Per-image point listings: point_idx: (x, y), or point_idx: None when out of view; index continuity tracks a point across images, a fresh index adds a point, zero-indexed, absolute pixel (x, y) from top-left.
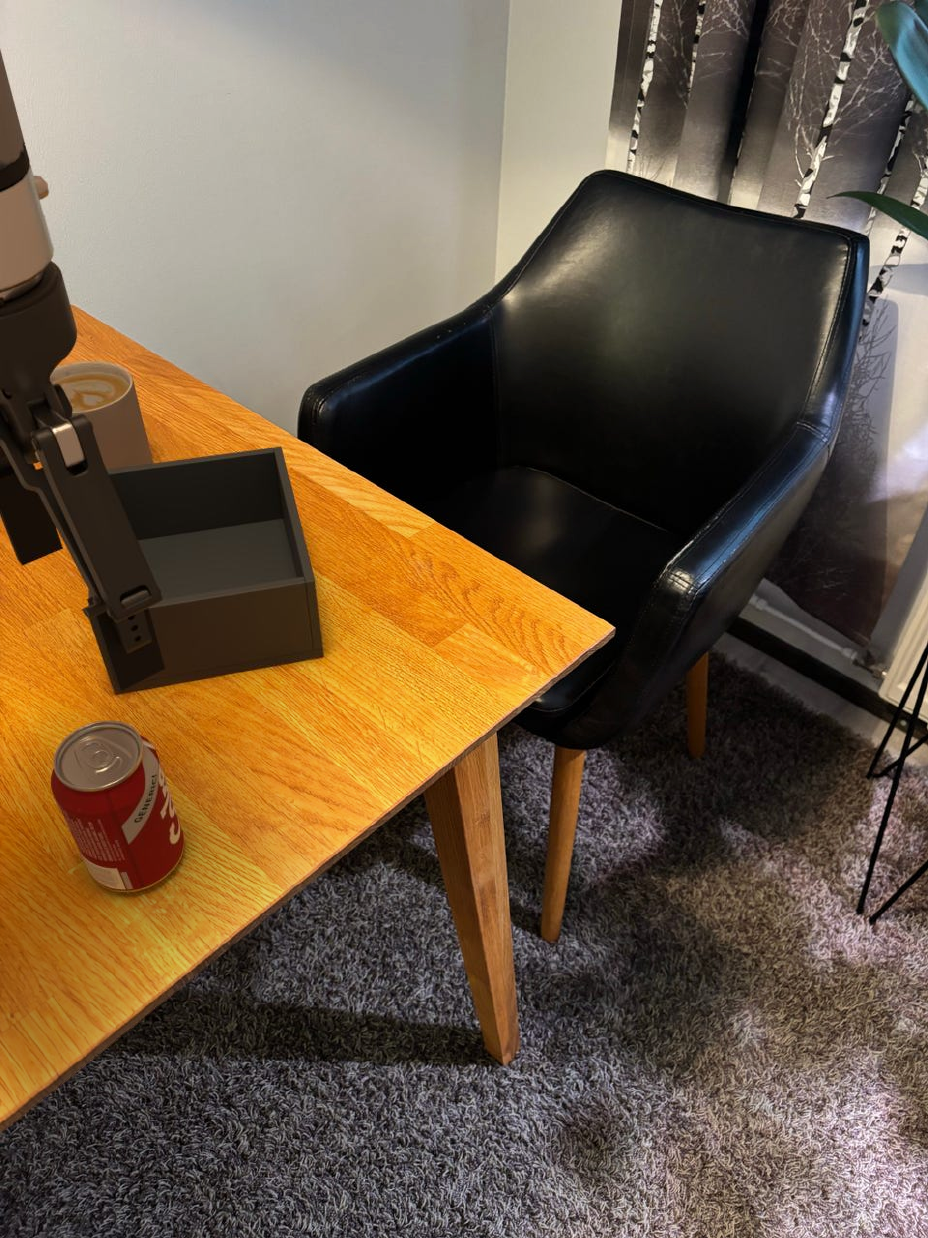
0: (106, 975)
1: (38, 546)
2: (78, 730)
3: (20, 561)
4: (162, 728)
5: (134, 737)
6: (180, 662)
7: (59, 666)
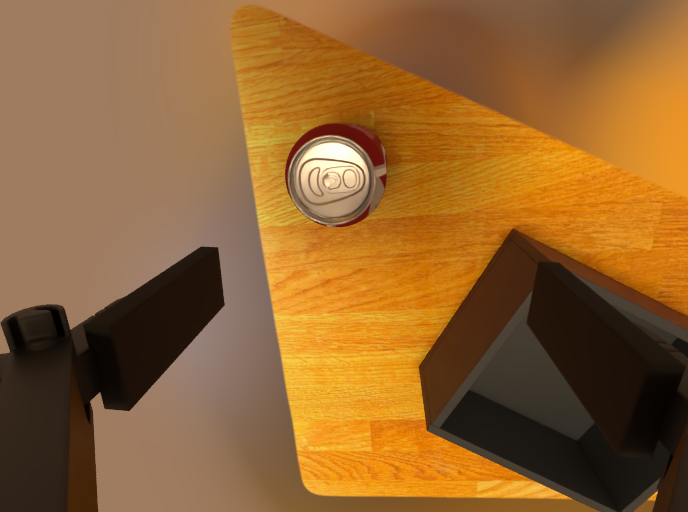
0: (273, 93)
1: (541, 302)
2: (373, 180)
3: (543, 264)
4: (448, 239)
5: (334, 219)
6: (484, 289)
7: (586, 207)
